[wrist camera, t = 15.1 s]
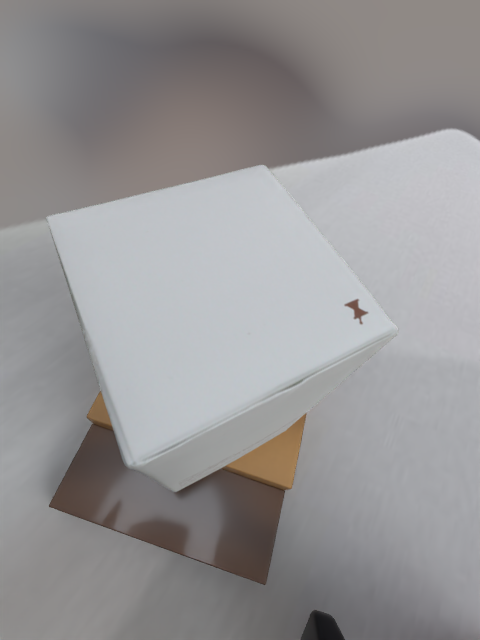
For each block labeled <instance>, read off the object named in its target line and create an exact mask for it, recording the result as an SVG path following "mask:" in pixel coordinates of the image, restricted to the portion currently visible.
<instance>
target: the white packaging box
mask: <svg viewBox="0 0 480 640" xmlns="http://www.w3.org/2000/svg"><path fill="white" fill-rule="evenodd" d="M46 221H47V223H48V225H49V228H50V231H51V234H52V238H53V241H54V244H55V247H56V250H57V253H58V256H59V259H60V263H61V266H62V269H63V272H64V275H65V278H66V281H67V284H68V287H69V290H70V294H71V297H72V300H73V303H74V306H75V310H76V313H77V316H78V319H79V323H80V326H81V329H82V332H83V335H84V339H85V342H86V345H87V348H88V352H89V355H90V358H91V361H92V365H93V368H94V371H95V374H96V377H97V380H98V384H99V387H100V390H101V393H102V396H103V399H104V402H105V405H106V409H107V412H108V415H109V418H110V421H111V424H112V427H113V430H114V433H115V437H116V440H117V443H118V446H119V449H120V453H121V456H122V459H123V462H124V464H125V465H126V466H127V467H128V468H130V469H132V470H135V471H138V472H140V473H142V474H144V475H146V476H148V477H149V478H151V479H153V480H154V481H156V482H157V483H159V484H161V485H162V486H164V487H166V488H167V489H170V490H172V491H173V492H177V491H179V490H181V489H183V488H185V487H187V486H189V485H191V484H193V483H194V482H196V481H198V480H200V479H202V478H204V477H206V476H208V475H209V474H211V473H213V472H215V471H217V470H219V469H221V468H222V467H224V466H226V465H228V464H230V463H232V462H233V461H235V460H237V459H239V458H240V457H242V456H244V455H245V454H247V453H249V452H251V451H252V450H254V449H256V448H257V447H259V446H261V445H262V444H264V443H266V442H267V441H269V440H271V439H273V438H274V437H276V436H278V435H279V434H281V433H283V432H285V431H286V430H287V429H288V428H289V427H290V426H291V425H293V424H294V423H295V422H296V421H297V420H299V419H300V418H301V417H302V416H303V415H304V414H305V413H307V412H308V411H309V410H310V409H311V408H313V407H314V406H315V405H316V404H317V403H318V402H319V401H321V400H322V399H323V398H324V397H325V396H327V395H328V394H329V393H330V392H331V391H332V390H333V389H335V388H336V387H337V386H338V385H339V384H341V383H342V382H343V381H344V380H345V379H346V378H348V377H349V376H350V375H351V374H352V373H353V372H355V371H356V370H357V369H358V368H359V367H360V366H362V365H363V364H364V363H365V362H366V361H367V360H369V359H370V358H371V357H372V356H373V355H374V354H376V353H377V352H378V351H379V350H380V349H381V348H382V347H384V346H385V345H386V344H387V343H388V342H389V341H391V340H392V339H393V338H394V337H395V336H397V334H398V332H399V329H398V328H397V327H396V326H395V324H394V323H393V322H392V321H391V320H390V318H389V317H388V316H387V314H386V313H385V312H384V310H383V309H382V308H381V306H380V305H379V303H378V302H377V301H376V299H375V298H374V297H373V296H372V294H371V293H370V292H369V291H368V289H367V288H366V287H365V286H364V284H363V283H362V282H361V281H360V279H359V278H358V277H357V276H356V275H355V273H354V272H353V271H352V270H351V268H350V267H349V266H348V265H347V264H346V262H345V261H344V260H343V259H342V258H341V256H340V255H339V254H338V253H337V251H336V250H335V249H334V248H333V246H332V245H331V244H330V243H329V241H328V240H327V239H326V238H325V237H324V236H323V234H322V233H321V232H320V231H319V229H318V228H317V227H316V226H315V224H314V223H313V222H312V221H311V220H310V218H309V217H308V216H307V215H306V213H305V212H304V211H303V210H302V209H301V207H300V206H299V205H298V204H297V202H296V201H295V200H294V199H293V198H292V196H291V195H290V194H289V193H288V191H287V190H286V189H285V188H284V187H283V185H282V184H281V183H280V181H279V180H278V179H277V178H276V177H275V176H274V174H273V173H272V172H271V171H270V170H269V169H268V168H267V167H266V166H265V165H258V166H254V167H250V168H246V169H242V170H238V171H234V172H230V173H226V174H222V175H218V176H214V177H210V178H206V179H202V180H197V181H193V182H189V183H185V184H181V185H177V186H172V187H169V188H164V189H160V190H156V191H152V192H148V193H143V194H139V195H135V196H131V197H127V198H123V199H118V200H114V201H110V202H106V203H102V204H97V205H93V206H89V207H84V208H80V209H76V210H72V211H68V212H63V213H59V214H54V215H50V216H48V217H47V218H46Z"/></svg>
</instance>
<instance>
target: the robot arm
mask: <svg viewBox="0 0 480 640" xmlns="http://www.w3.org/2000/svg"><path fill="white" fill-rule="evenodd" d="M301 640H345V639H344V637H343V635H342V633H341V631H340V629H339V627H338V625H337V623H336V621H335V619H334V618H333V617H332V616H331V615H329V614H327V613H324V612H320V611H317V610H314V611H312V613H311V614H310V617H309V619H308V622H307V624H306V627H305V629H304V631H303V634H302V637H301Z"/></svg>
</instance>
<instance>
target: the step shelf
mask: <svg viewBox="0 0 480 640" xmlns="http://www.w3.org/2000/svg"><path fill="white" fill-rule="evenodd" d="M87 418H88V419H89V420H90V421H91V422H92V423H94V424H92V425H91V427H90V429H89V431H88V433H87V435H86V437H85V438H84V440H83V442H82V444H81V446H80V448H79V450H78V452H77V454H76V455H75V457H74V459H73V461H72V463H71V465H70V467H69V469H68V470H67V472H66V474H65V476H64V478H63V480H62V482H61V484H60V486H59V487H58V489H57V491H56V493H55V495H54V497H53V499H52V501H51V502H50V504H49V507H51V508H54V509H57V510H59V511H62V512H65V513H68V514H70V515H73V516H76V517H79V518H81V519H84V520H87V521H90V522H92V523H95V524H98V525H101V526H103V527H106V528H109V529H112V530H114V531H117V532H120V533H123V534H126V535H128V536H131V537H134V538H137V539H139V540H142V541H145V542H148V543H150V544H153V545H156V546H159V547H161V548H164V549H167V550H170V551H172V552H175V553H178V554H181V555H183V556H186V557H189V558H192V559H194V560H197V561H200V562H203V563H205V564H208V565H211V566H214V567H216V568H219V569H222V570H225V571H227V572H230V573H233V574H236V575H239V576H241V577H244V578H247V579H250V580H252V581H255V582H258V583H261V584H263V585H266V581H267V576H268V571H269V566H270V561H271V557H272V552H273V547H274V542H275V537H276V532H277V527H278V522H279V518H280V513H281V508H282V503H283V498H284V493H285V491H284V490H288V489H291V488H292V485H293V480H294V474H295V469H296V464H297V459H298V454H299V449H300V444H301V439H302V434H303V429H304V423H305V418H306V413H305V414H304V415H303V416H302V417H301V418H300V419H299V420H297V421H296V422H295V423H294V424H293V425H291V426H290V427H289V428H288V429H287V430H286V431H285V432H283V433H281V434H279V435H278V436H276V437H274V438H273V439H271V440H269V441H267V442H266V443H264V444H262V445H261V446H259V447H257V448H256V449H254V450H252V451H251V452H249V453H247V454H245V455H244V456H242V457H240V458H239V459H237V460H235V461H233V462H232V463H230V464H228V465H226V466H224V467H222V468H221V469H219V470H217V471H215V472H213V473H211V474H209V475H208V476H206V477H204V478H202V479H200V480H198V481H196V482H194V483H193V484H191V485H189V486H187V487H185V488H183V489H181V490H179V491H177V492H173V491H172V490H170V489H167V488H166V487H164V486H162V485H161V484H159V483H157V482H156V481H154V480H153V479H151V478H149V477H148V476H146V475H144V474H142V473H140V472H138V471H135V470H132V469H130V468H128V467H127V466H126V465H125V464H124V462H123V459H122V456H121V453H120V449H119V446H118V443H117V440H116V437H115V433H114V430H113V427H112V424H111V421H110V418H109V415H108V412H107V409H106V405H105V402H104V399H103V396H102V393H101V391H100V392H99V394H98V396H97V398H96V400H95V402H94V403H93V405H92V407H91V409H90V411H89V413H88V414H87Z"/></svg>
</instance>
